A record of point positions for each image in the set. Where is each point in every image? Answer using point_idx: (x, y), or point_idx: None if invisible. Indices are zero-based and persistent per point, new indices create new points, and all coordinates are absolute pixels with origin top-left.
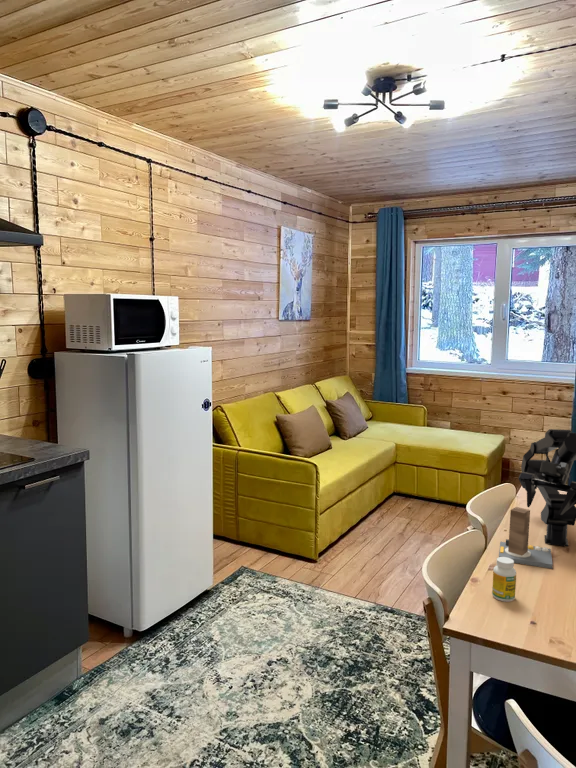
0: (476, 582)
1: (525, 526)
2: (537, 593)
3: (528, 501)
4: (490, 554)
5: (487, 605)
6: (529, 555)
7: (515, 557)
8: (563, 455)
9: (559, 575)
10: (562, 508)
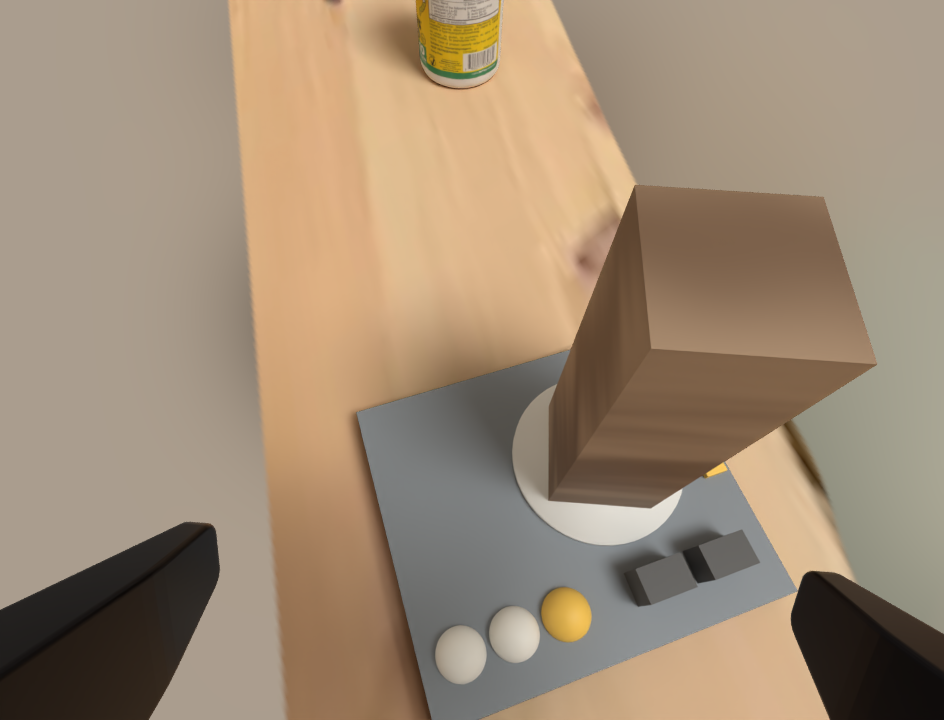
0: (586, 99)
1: (592, 333)
2: (363, 144)
3: (890, 617)
4: None
5: None
6: (513, 443)
7: None
8: None
9: (310, 361)
10: (114, 573)
